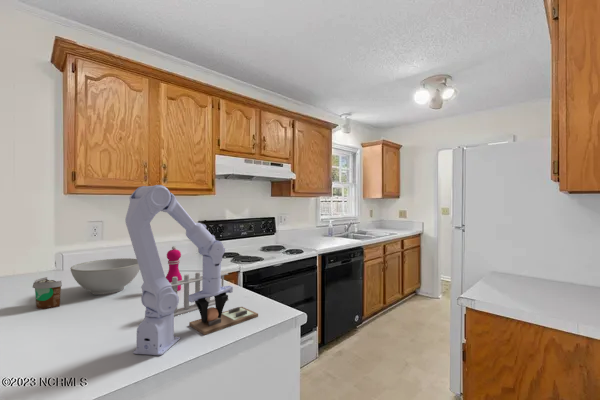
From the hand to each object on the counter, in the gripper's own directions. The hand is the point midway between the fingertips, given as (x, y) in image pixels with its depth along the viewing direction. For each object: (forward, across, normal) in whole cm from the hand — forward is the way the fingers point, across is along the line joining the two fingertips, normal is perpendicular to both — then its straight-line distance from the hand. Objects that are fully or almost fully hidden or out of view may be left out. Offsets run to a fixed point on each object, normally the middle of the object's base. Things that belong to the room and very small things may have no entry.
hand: (211, 319), depth 93 cm
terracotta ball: (-2, 0, 0) cm, 2 cm away
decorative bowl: (+2, +14, -68) cm, 69 cm away
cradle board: (+2, -5, 0) cm, 5 cm away
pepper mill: (+2, -7, -48) cm, 48 cm away
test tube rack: (+2, -4, -19) cm, 19 cm away
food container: (+2, +36, -61) cm, 71 cm away
